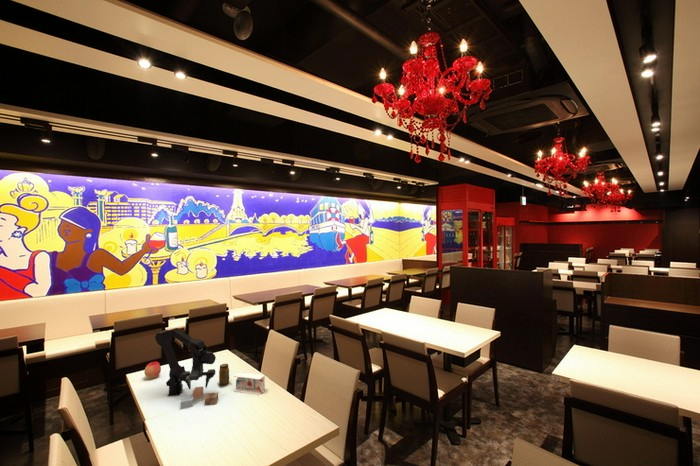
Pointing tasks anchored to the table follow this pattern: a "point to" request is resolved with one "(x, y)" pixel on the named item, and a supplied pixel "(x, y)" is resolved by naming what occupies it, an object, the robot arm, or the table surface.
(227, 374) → the condiment
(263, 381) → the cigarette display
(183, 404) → the slate block
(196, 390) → the terracotta cube
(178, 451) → the table surface
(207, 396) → the walnut block
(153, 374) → the apple
